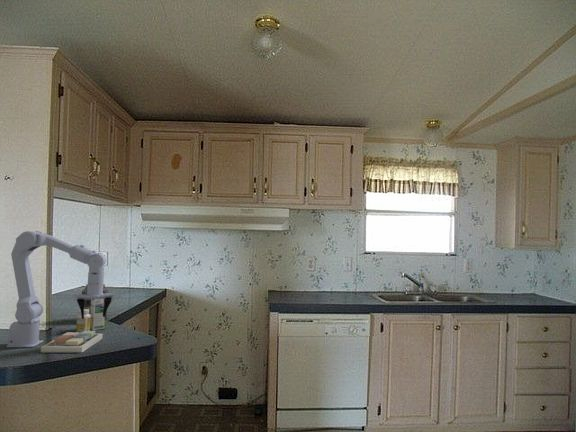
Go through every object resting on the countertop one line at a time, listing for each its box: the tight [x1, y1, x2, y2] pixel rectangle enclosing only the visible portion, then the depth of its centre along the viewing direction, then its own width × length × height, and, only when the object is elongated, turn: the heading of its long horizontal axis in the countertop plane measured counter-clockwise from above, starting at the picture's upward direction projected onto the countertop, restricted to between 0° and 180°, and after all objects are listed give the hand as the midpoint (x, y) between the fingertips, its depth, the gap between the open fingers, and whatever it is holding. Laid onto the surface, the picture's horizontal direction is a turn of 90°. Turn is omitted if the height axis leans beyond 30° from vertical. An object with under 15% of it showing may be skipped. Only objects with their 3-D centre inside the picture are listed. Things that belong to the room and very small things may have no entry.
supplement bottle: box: [75, 309, 91, 333], centre depth 169 cm, size 5×5×10 cm
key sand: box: [66, 338, 83, 345], centre depth 144 cm, size 4×4×2 cm
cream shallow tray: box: [40, 333, 104, 354], centre depth 149 cm, size 14×19×2 cm
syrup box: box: [90, 297, 108, 331], centre depth 175 cm, size 6×6×14 cm
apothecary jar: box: [81, 283, 109, 314], centre depth 190 cm, size 12×12×18 cm
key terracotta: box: [53, 335, 72, 343], centre depth 146 cm, size 4×4×2 cm
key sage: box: [80, 330, 96, 337], centre depth 155 cm, size 4×4×2 cm
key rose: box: [61, 331, 79, 338], centre depth 152 cm, size 4×4×2 cm
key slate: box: [73, 334, 90, 341], centre depth 149 cm, size 4×4×2 cm
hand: (93, 317), depth 153 cm, fingers open, 7 cm apart
